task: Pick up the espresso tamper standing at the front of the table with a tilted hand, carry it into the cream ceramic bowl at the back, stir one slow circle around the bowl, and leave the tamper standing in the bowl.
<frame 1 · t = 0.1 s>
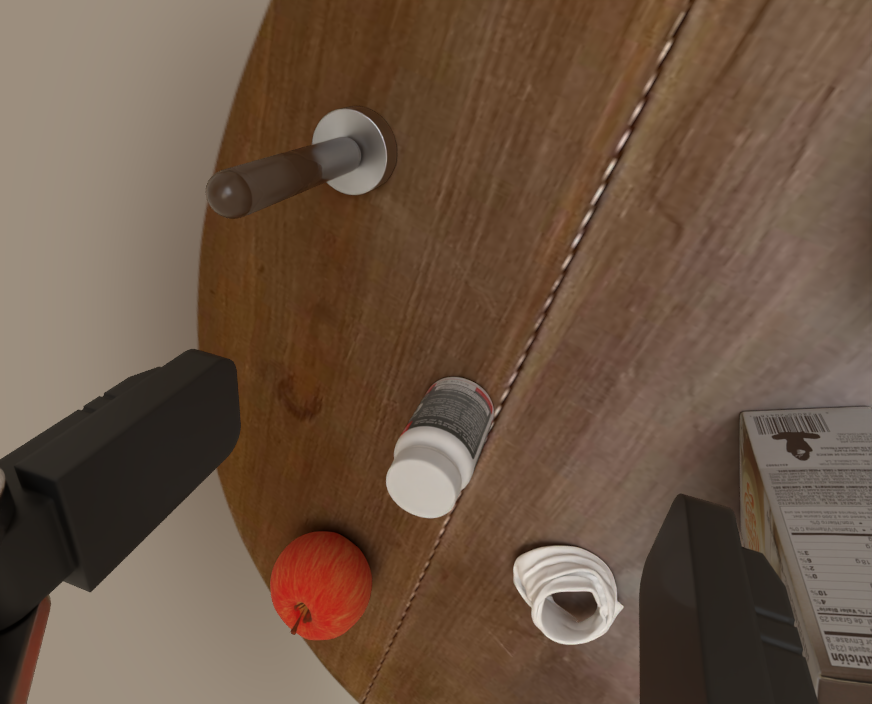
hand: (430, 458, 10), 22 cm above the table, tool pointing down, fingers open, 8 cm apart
espresso tamper: (360, 149, 31), on the table
pill bottle: (460, 404, 37), on the table
coffee box: (799, 470, 32), on the table
apple: (342, 548, 48), on the table
white folded ring: (567, 572, 41), on the table
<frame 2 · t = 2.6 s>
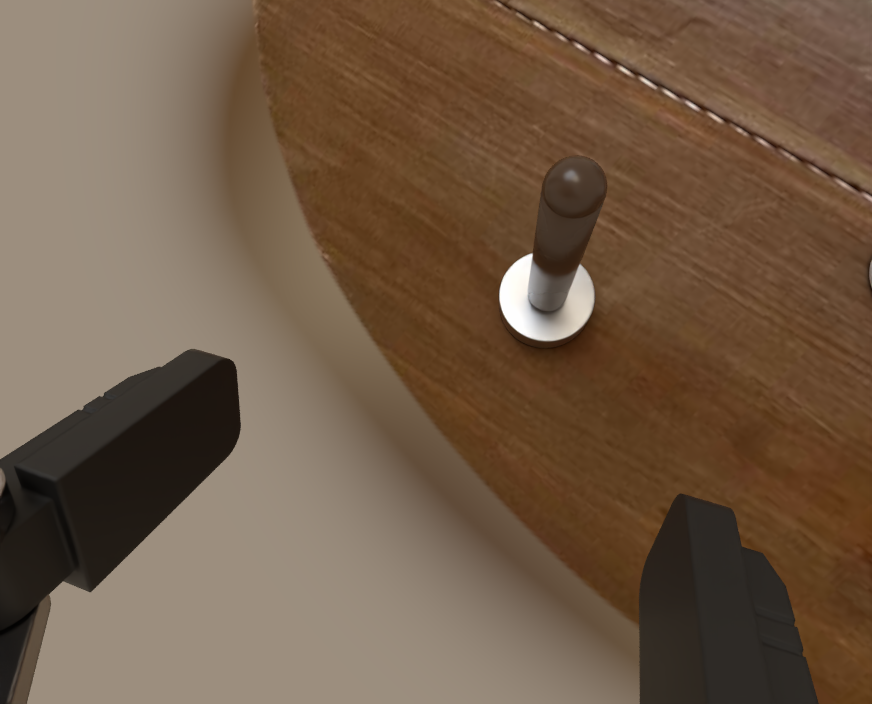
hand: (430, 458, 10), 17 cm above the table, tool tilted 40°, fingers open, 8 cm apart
espresso tamper: (544, 304, 27), on the table
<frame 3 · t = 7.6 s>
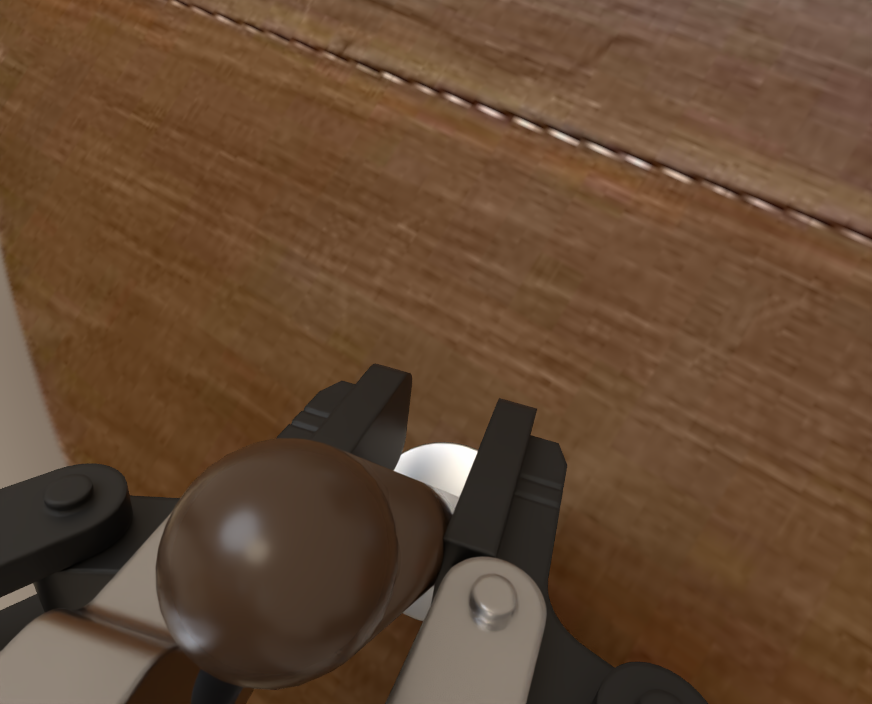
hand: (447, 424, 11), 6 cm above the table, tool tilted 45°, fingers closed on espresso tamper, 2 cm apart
espresso tamper: (448, 528, 15), on the table, touching gripper
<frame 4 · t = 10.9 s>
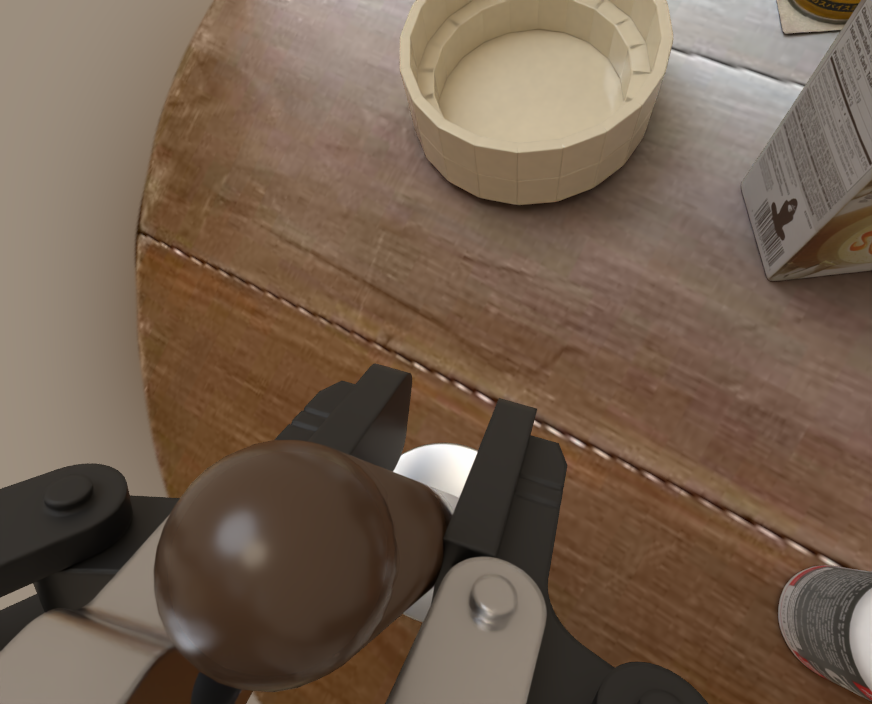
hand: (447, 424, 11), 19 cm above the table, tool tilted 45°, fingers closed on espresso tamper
bowl: (528, 109, 35), on the table
espresso tamper: (448, 528, 15), point 13 cm above the table, touching gripper
pill bottle: (830, 620, 25), on the table
coffee box: (835, 223, 30), on the table
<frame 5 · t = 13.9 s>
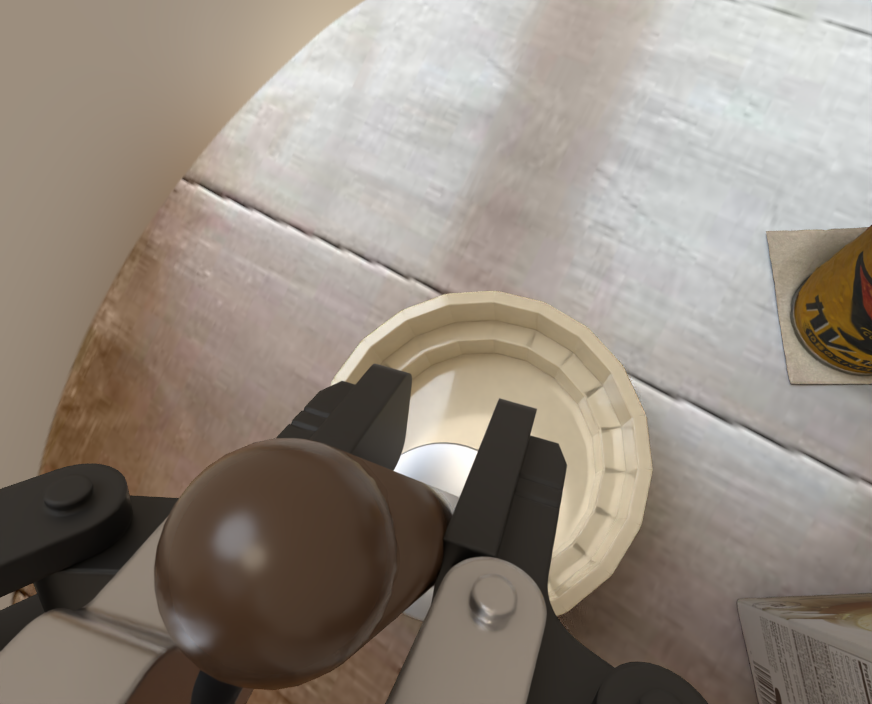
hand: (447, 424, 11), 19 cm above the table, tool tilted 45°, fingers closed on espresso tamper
bowl: (482, 459, 29), on the table
espresso tamper: (448, 528, 15), point 13 cm above the table, touching gripper
condiment: (849, 305, 29), on the table
coffee box: (853, 668, 24), on the table
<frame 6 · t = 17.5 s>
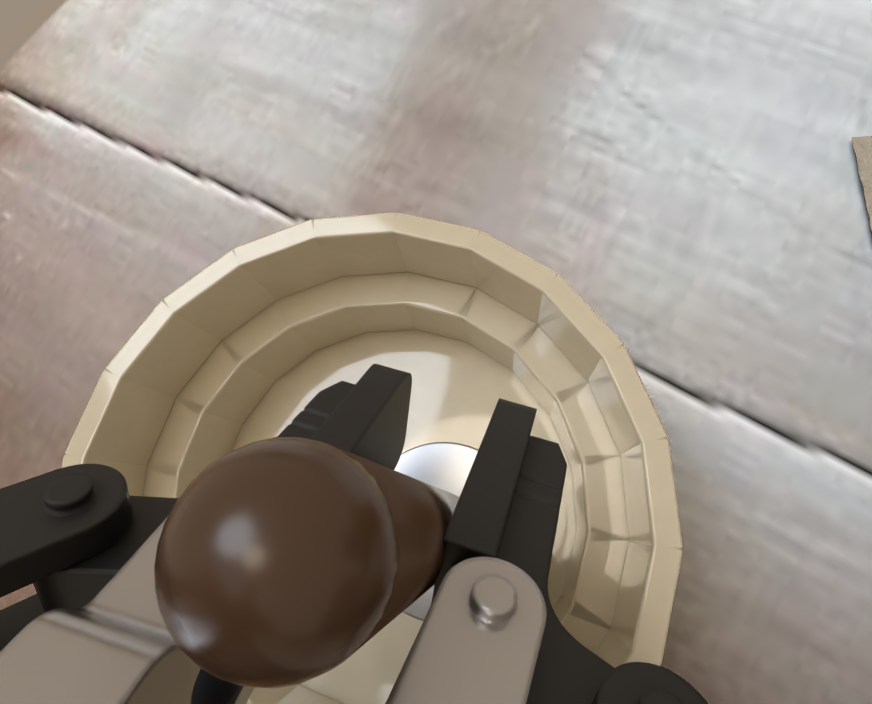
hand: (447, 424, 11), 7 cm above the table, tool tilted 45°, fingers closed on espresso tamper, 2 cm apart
bowl: (393, 503, 18), on the table
espresso tamper: (448, 527, 15), point 2 cm above the table, touching gripper
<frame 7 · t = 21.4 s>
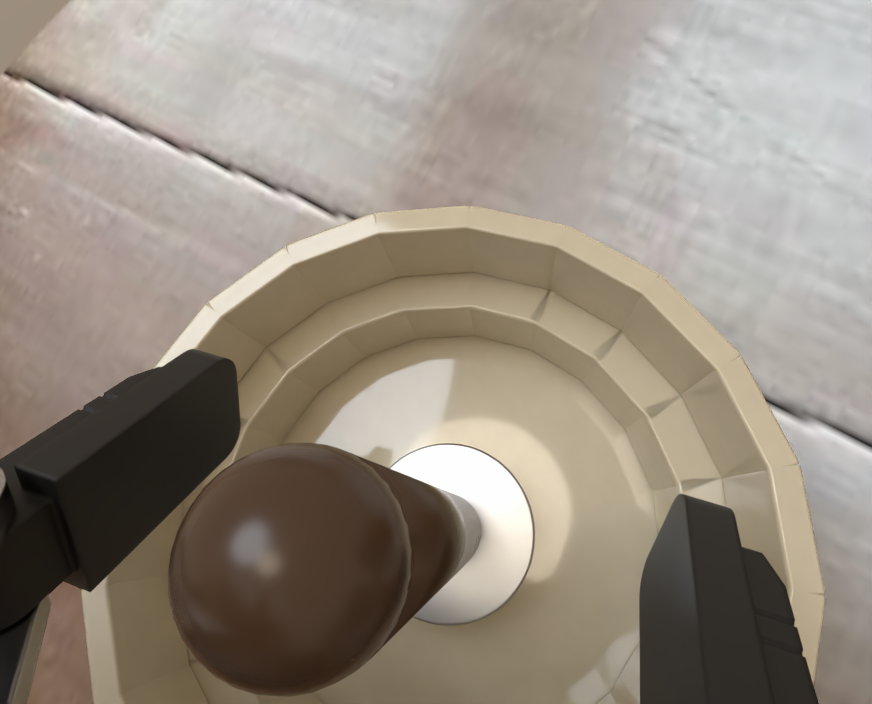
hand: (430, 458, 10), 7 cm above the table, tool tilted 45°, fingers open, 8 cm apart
bowl: (451, 526, 16), on the table
espresso tamper: (452, 529, 15), point 1 cm above the table, touching bowl
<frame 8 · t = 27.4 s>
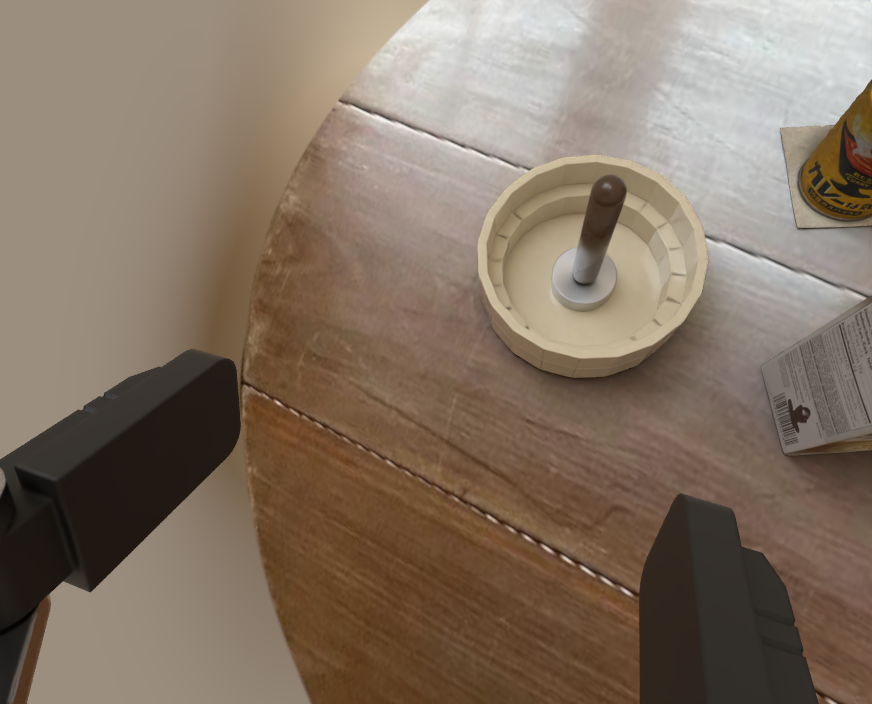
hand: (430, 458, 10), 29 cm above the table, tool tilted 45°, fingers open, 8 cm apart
bowl: (579, 285, 41), on the table
espresso tamper: (581, 282, 40), point 1 cm above the table, touching bowl
condiment: (839, 177, 40), on the table
coffee box: (840, 404, 36), on the table
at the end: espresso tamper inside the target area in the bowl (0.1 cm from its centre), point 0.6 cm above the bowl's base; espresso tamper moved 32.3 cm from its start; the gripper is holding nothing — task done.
